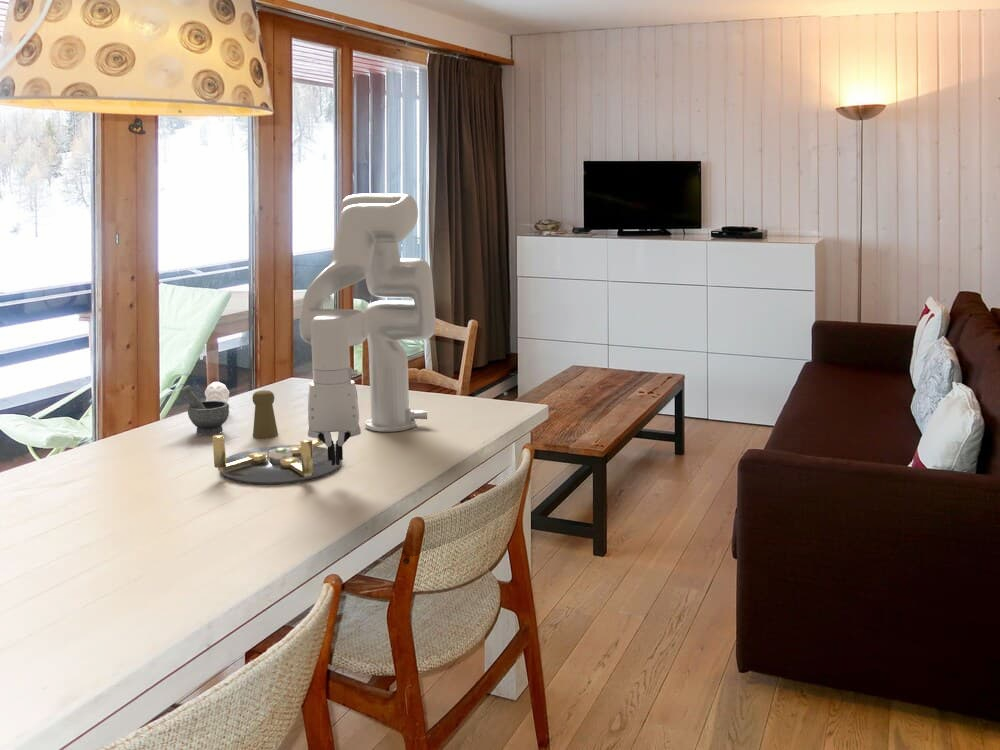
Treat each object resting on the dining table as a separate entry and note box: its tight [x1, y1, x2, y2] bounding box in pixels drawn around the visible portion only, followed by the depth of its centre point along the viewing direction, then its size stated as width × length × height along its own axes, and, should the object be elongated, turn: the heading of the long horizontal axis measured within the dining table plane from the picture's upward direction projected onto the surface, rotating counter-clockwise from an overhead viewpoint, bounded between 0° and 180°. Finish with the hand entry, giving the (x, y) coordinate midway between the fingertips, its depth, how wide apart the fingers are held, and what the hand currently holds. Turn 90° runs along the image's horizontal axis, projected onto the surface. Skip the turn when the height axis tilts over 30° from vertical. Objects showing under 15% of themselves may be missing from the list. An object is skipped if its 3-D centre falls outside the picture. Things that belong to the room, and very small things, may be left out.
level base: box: [219, 444, 343, 486], centre depth 222 cm, size 26×26×4 cm
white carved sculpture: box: [204, 381, 230, 403], centre depth 266 cm, size 6×8×12 cm
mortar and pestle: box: [179, 384, 230, 436], centre depth 250 cm, size 11×9×12 cm
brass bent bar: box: [289, 438, 325, 457], centre depth 230 cm, size 13×4×8 cm, turn 153°
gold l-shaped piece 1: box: [212, 434, 267, 472], centre depth 217 cm, size 13×4×8 cm, turn 143°
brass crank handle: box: [280, 439, 314, 477], centre depth 213 cm, size 13×4×8 cm, turn 33°
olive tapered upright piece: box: [251, 389, 279, 439], centre depth 247 cm, size 6×6×11 cm
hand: (335, 463), depth 210 cm, fingers closed
